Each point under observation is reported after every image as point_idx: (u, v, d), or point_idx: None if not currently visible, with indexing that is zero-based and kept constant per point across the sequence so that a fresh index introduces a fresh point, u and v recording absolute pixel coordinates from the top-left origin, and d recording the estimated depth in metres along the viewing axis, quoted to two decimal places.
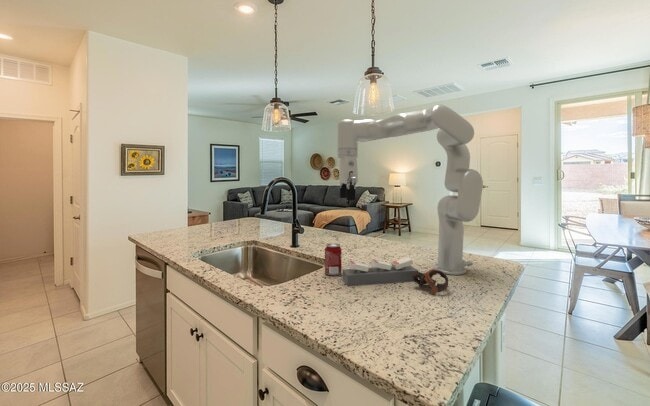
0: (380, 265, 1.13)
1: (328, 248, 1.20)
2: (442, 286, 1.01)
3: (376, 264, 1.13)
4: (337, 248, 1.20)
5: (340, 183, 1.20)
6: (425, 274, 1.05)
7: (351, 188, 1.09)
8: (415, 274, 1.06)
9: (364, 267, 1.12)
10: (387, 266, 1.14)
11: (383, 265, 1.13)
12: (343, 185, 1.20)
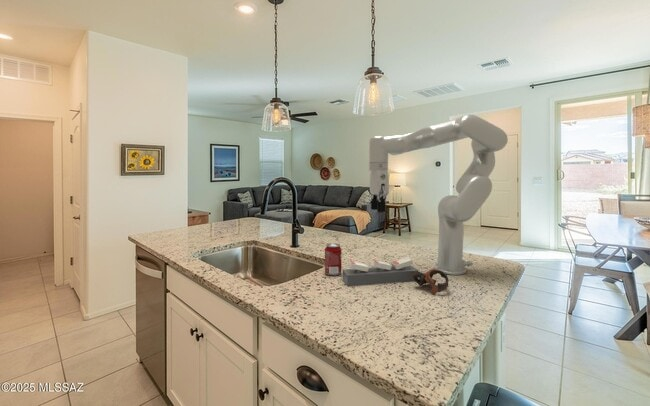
0: (380, 265, 1.13)
1: (328, 248, 1.20)
2: (442, 286, 1.01)
3: (376, 264, 1.13)
4: (337, 248, 1.20)
5: (371, 196, 1.28)
6: (425, 274, 1.06)
7: (382, 201, 1.19)
8: (415, 274, 1.07)
9: (364, 267, 1.12)
10: (387, 266, 1.14)
11: (383, 265, 1.13)
12: (374, 197, 1.28)
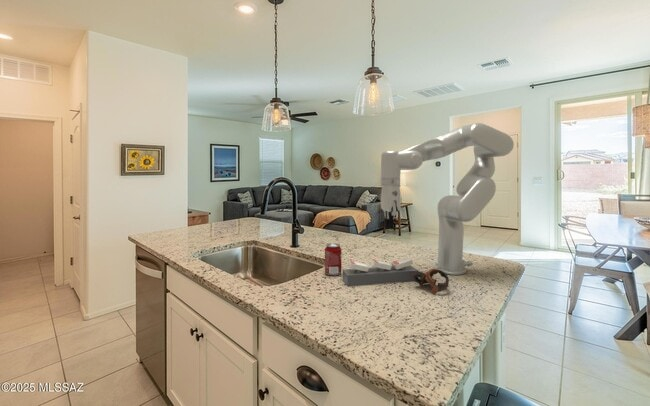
0: (380, 265, 1.13)
1: (328, 248, 1.20)
2: (443, 285, 1.01)
3: (376, 264, 1.13)
4: (337, 248, 1.20)
5: None
6: (426, 273, 1.06)
7: (390, 218, 1.18)
8: (416, 274, 1.07)
9: (364, 267, 1.12)
10: (387, 266, 1.14)
11: (383, 265, 1.13)
12: None
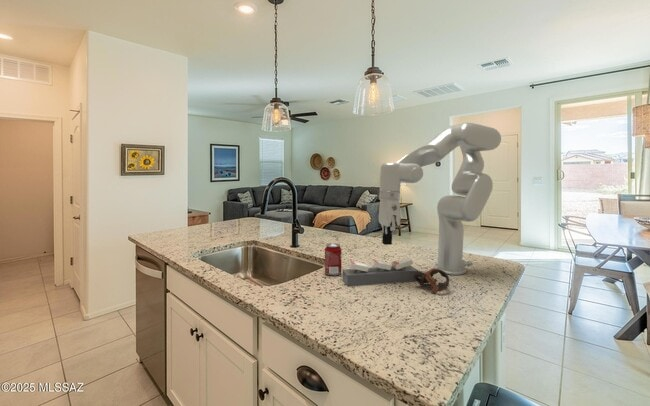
0: (380, 265, 1.13)
1: (328, 248, 1.20)
2: (443, 285, 1.02)
3: (376, 264, 1.13)
4: (337, 248, 1.20)
5: (382, 228, 1.16)
6: (426, 273, 1.06)
7: (389, 233, 1.12)
8: (416, 273, 1.07)
9: (364, 267, 1.12)
10: (387, 266, 1.14)
11: (383, 265, 1.13)
12: None
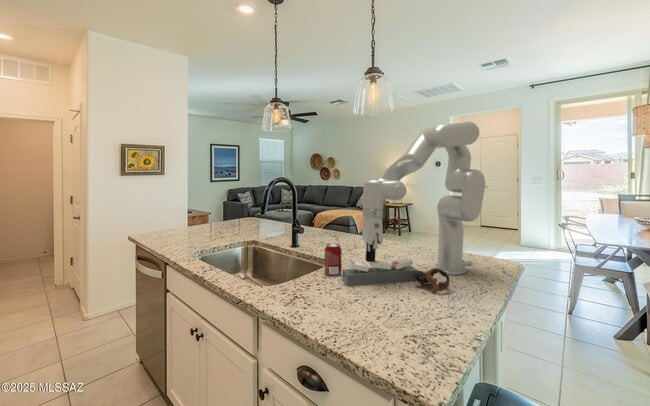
0: (380, 265, 1.13)
1: (328, 248, 1.20)
2: (443, 285, 1.02)
3: (376, 264, 1.13)
4: (337, 248, 1.20)
5: None
6: (426, 273, 1.07)
7: (371, 251, 1.12)
8: (416, 273, 1.07)
9: (364, 267, 1.12)
10: (387, 266, 1.14)
11: (383, 265, 1.13)
12: None
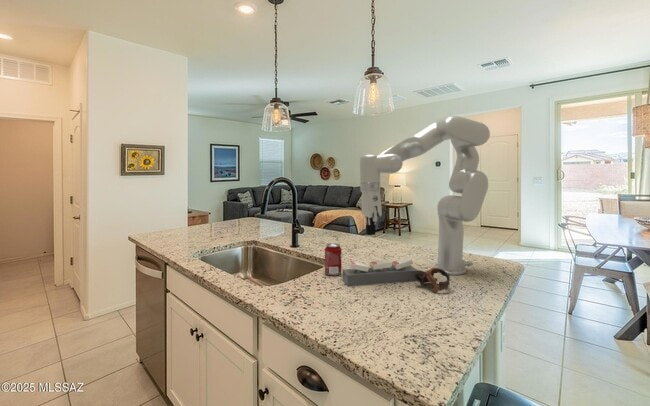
0: (380, 266, 1.13)
1: (328, 248, 1.20)
2: (444, 284, 1.03)
3: (375, 266, 1.13)
4: (337, 248, 1.20)
5: None
6: (427, 272, 1.07)
7: (372, 224, 1.14)
8: (417, 273, 1.08)
9: (364, 267, 1.12)
10: (387, 264, 1.13)
11: (382, 265, 1.13)
12: None
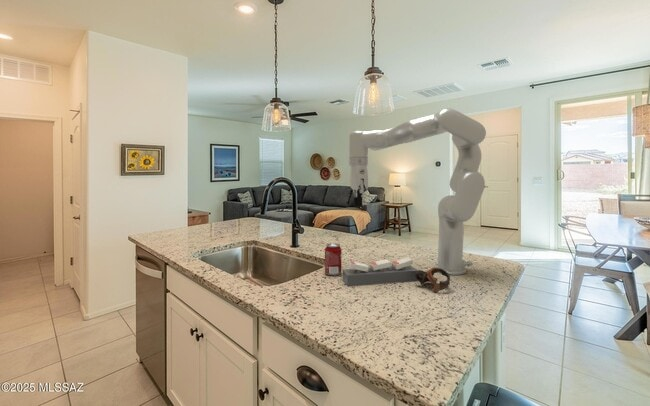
0: (380, 266, 1.13)
1: (328, 248, 1.20)
2: (444, 284, 1.03)
3: (375, 267, 1.13)
4: (337, 248, 1.20)
5: None
6: (427, 272, 1.07)
7: (359, 196, 1.23)
8: (417, 272, 1.08)
9: (364, 267, 1.12)
10: (387, 264, 1.13)
11: (382, 265, 1.13)
12: None
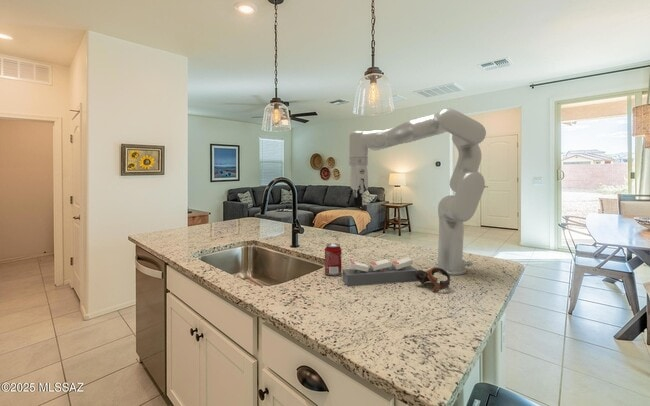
0: (379, 266, 1.13)
1: (328, 248, 1.20)
2: (444, 283, 1.03)
3: (375, 267, 1.13)
4: (337, 248, 1.20)
5: None
6: (427, 272, 1.08)
7: (359, 196, 1.23)
8: (418, 272, 1.08)
9: (364, 267, 1.12)
10: (386, 264, 1.13)
11: (382, 265, 1.13)
12: None
